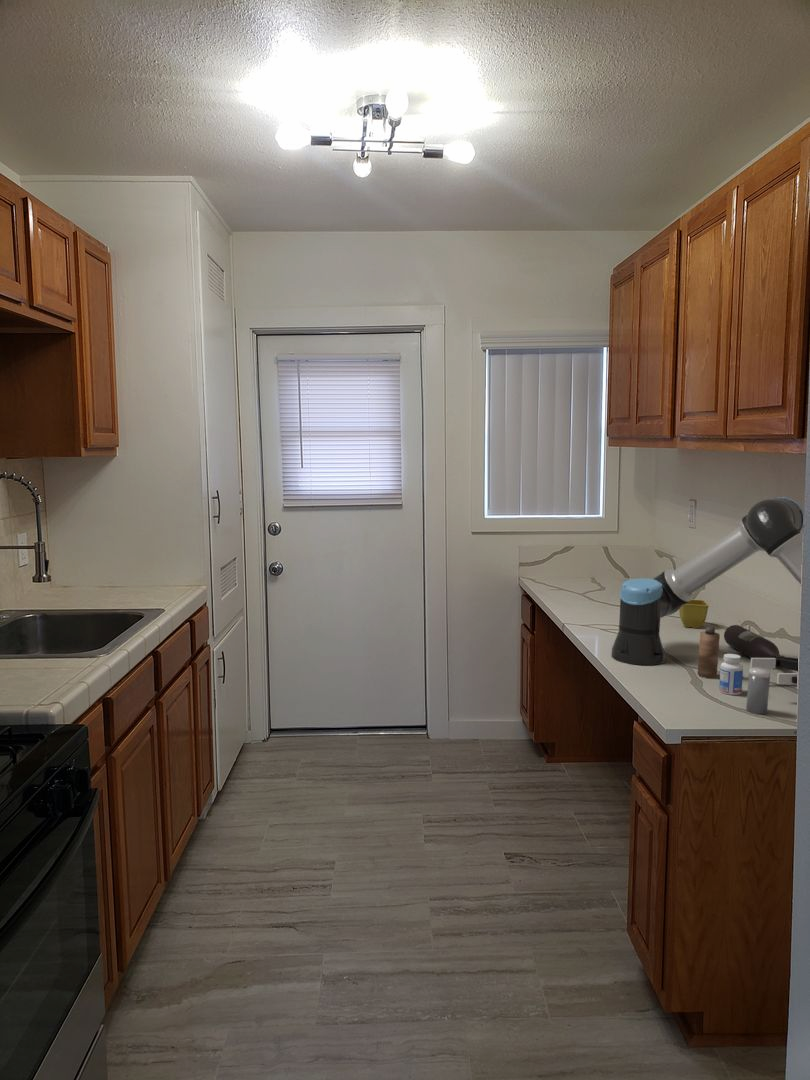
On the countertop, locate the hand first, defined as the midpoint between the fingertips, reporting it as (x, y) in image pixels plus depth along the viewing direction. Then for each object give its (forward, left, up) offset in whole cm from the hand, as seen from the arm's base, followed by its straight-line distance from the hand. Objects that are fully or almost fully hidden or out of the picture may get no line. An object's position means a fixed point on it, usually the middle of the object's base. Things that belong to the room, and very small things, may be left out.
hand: (763, 670), depth 197 cm
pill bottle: (-8, -1, -6) cm, 10 cm away
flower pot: (-1, +73, -6) cm, 73 cm away
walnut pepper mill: (-11, +12, -6) cm, 17 cm away
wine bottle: (+6, +48, -2) cm, 49 cm away
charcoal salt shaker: (-6, -15, -6) cm, 17 cm away
